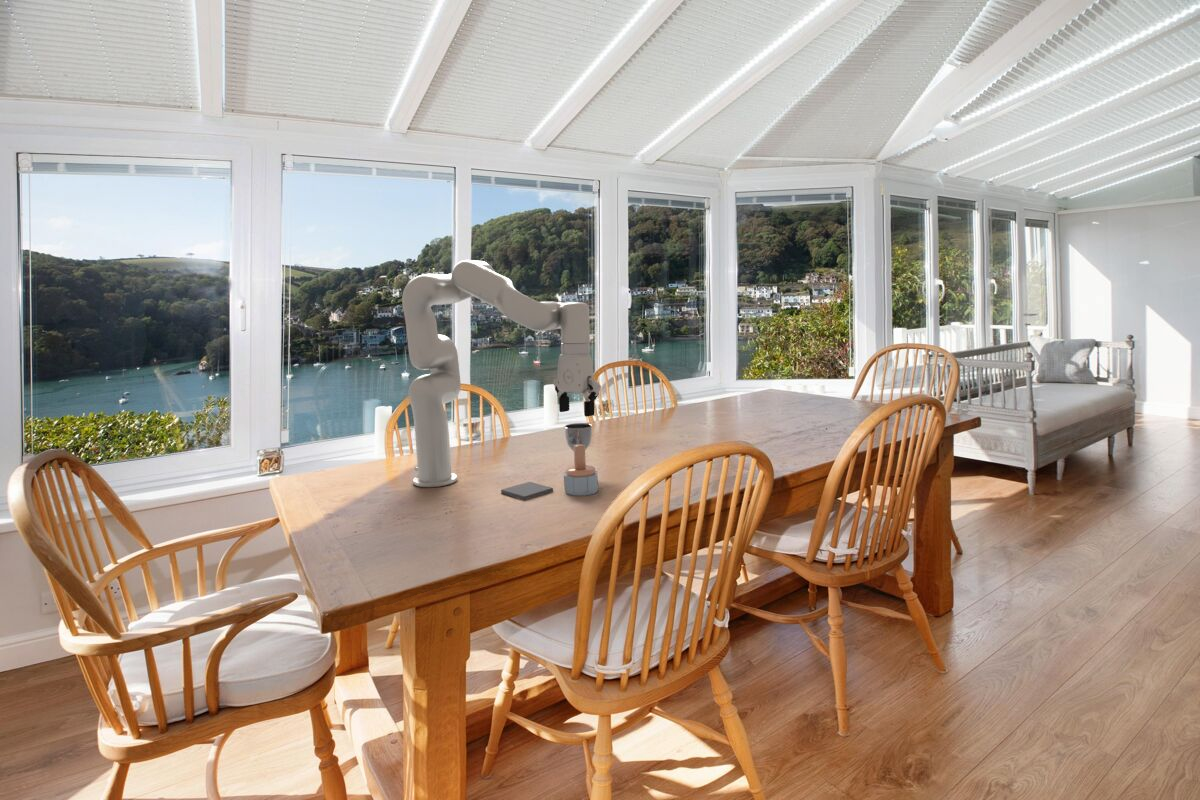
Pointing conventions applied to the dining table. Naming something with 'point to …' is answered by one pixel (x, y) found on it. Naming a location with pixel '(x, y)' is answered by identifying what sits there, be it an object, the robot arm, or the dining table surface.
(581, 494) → the bowl
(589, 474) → the lid
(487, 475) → the dining table surface
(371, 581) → the dining table surface
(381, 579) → the dining table surface
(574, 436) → the wine glass
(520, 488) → the mat
